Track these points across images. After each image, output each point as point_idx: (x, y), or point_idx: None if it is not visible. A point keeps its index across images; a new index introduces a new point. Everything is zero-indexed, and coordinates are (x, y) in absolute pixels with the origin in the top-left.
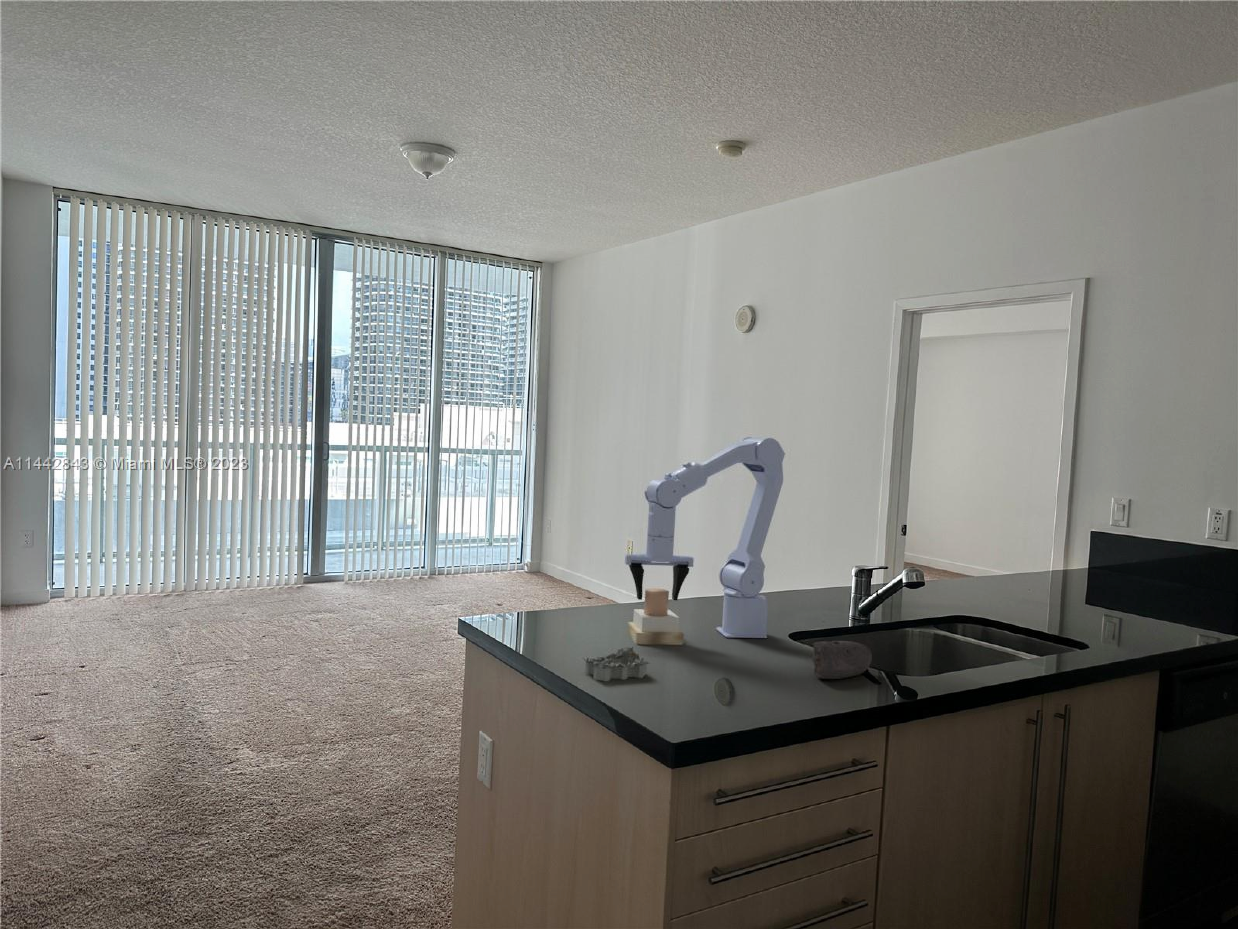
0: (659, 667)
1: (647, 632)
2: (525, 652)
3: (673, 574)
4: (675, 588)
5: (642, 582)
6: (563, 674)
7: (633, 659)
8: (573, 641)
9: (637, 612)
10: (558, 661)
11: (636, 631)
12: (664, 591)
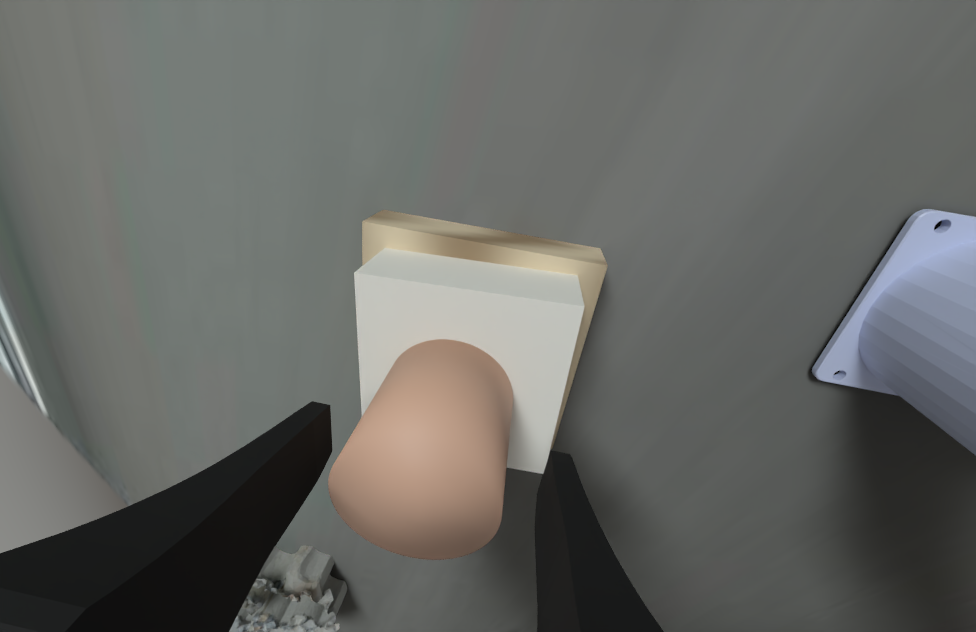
0: (391, 562)
1: None
2: (52, 405)
3: (575, 629)
4: (540, 575)
5: (255, 579)
6: None
7: (316, 576)
8: (162, 319)
9: (358, 352)
10: (153, 483)
11: None
12: (461, 531)
